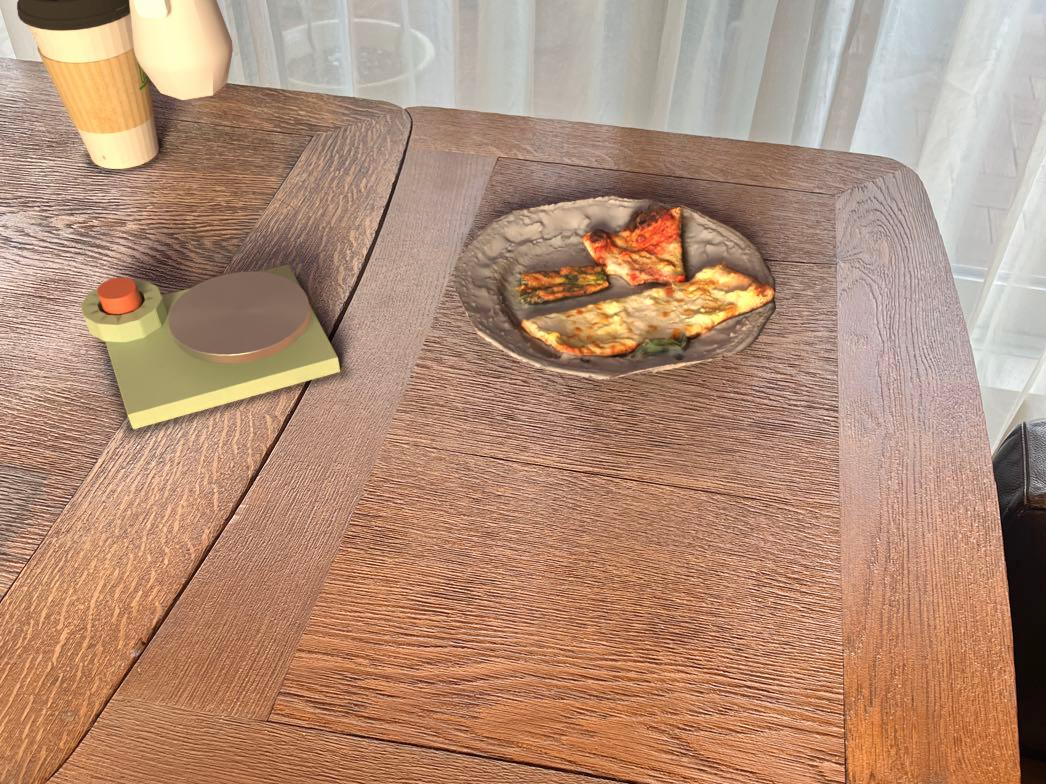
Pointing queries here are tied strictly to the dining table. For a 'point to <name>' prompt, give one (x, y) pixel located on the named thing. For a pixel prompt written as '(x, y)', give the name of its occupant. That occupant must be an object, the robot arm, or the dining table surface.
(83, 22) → the coffee cup
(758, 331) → the food plate
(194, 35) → the salt shaker
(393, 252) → the dining table surface
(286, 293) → the scale pan
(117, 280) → the button
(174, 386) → the scale
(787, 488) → the dining table surface
